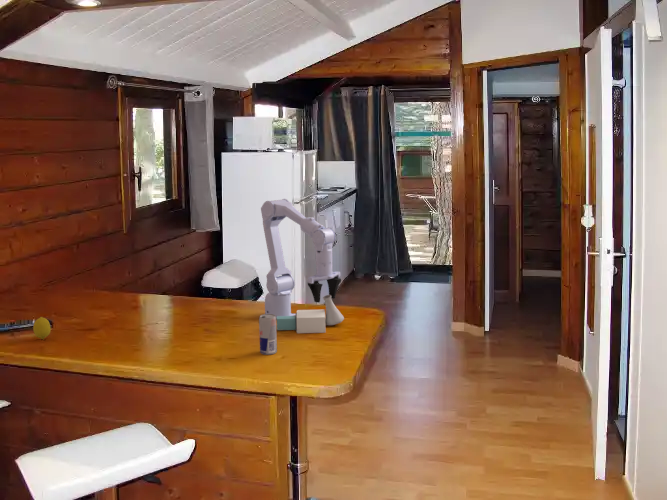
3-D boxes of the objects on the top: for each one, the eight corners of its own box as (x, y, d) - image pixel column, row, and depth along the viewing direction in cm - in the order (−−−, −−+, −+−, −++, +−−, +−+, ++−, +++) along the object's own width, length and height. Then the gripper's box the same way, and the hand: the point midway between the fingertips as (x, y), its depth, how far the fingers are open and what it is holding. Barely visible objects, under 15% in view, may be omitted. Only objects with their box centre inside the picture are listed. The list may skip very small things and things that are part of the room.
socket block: (295, 333, 261) (295, 317, 260) (296, 324, 272) (295, 310, 271) (325, 332, 262) (325, 317, 261) (324, 324, 273) (324, 309, 272)
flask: (342, 323, 268) (334, 298, 265) (323, 327, 269) (315, 302, 267) (346, 315, 274) (338, 290, 271) (327, 319, 276) (319, 294, 273)
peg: (277, 330, 265) (276, 319, 264) (277, 327, 268) (277, 316, 268) (299, 329, 265) (299, 318, 264) (299, 326, 269) (299, 315, 268)
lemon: (54, 338, 260) (53, 315, 258) (43, 342, 255) (42, 319, 253) (41, 336, 261) (40, 314, 260) (30, 341, 256) (28, 318, 255)
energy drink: (260, 350, 243) (259, 314, 240) (276, 349, 243) (275, 313, 241) (259, 355, 237) (258, 318, 235) (277, 354, 238) (276, 317, 236)
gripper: (317, 266, 257) (318, 305, 260) (346, 260, 268) (346, 298, 270) (303, 264, 262) (304, 302, 265) (332, 258, 272) (332, 295, 275)
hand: (324, 300), depth 268 cm, fingers open, 7 cm apart
